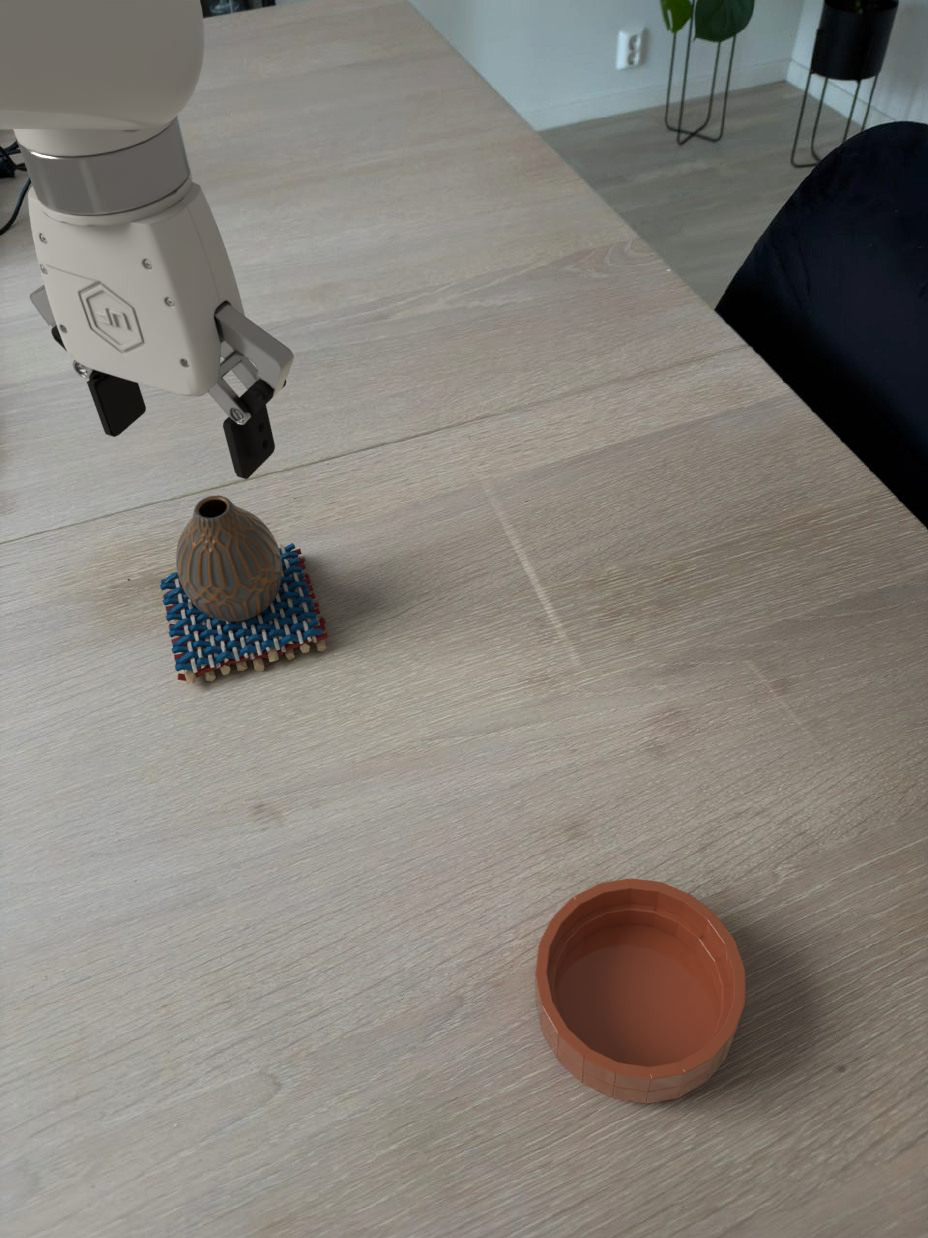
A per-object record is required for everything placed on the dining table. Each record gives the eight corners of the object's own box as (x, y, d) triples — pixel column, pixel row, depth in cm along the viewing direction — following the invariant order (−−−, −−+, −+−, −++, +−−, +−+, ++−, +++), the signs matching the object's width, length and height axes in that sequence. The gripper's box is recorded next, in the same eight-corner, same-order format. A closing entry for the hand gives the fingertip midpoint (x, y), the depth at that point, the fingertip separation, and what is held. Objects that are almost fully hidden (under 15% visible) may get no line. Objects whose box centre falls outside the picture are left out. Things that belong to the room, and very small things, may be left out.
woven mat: (335, 653, 75) (330, 633, 74) (182, 694, 74) (174, 675, 72) (303, 553, 82) (299, 534, 81) (162, 589, 80) (155, 570, 79)
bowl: (695, 1144, 53) (705, 1117, 50) (503, 1049, 57) (501, 1018, 54) (760, 961, 59) (772, 927, 56) (583, 885, 63) (585, 850, 60)
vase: (205, 651, 73) (173, 558, 67) (180, 585, 78) (147, 491, 71) (302, 616, 75) (280, 522, 69) (272, 553, 79) (248, 460, 73)
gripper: (-77, 165, 54) (38, 443, 66) (205, 229, 48) (274, 521, 60) (28, 106, 58) (118, 377, 71) (299, 158, 52) (345, 444, 65)
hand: (190, 443), depth 66 cm, fingers open, 9 cm apart
